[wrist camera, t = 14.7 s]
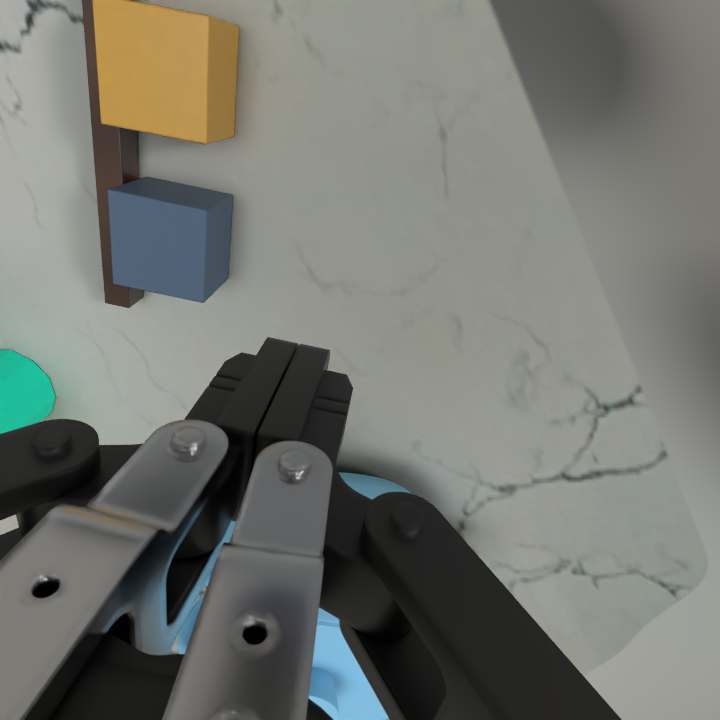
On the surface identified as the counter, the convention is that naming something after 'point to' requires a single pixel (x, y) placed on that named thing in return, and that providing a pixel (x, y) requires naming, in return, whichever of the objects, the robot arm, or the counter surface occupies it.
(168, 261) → the slate block
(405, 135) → the counter surface
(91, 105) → the straightedge
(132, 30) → the ochre block
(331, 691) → the decorative pot
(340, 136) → the counter surface
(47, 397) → the candle
